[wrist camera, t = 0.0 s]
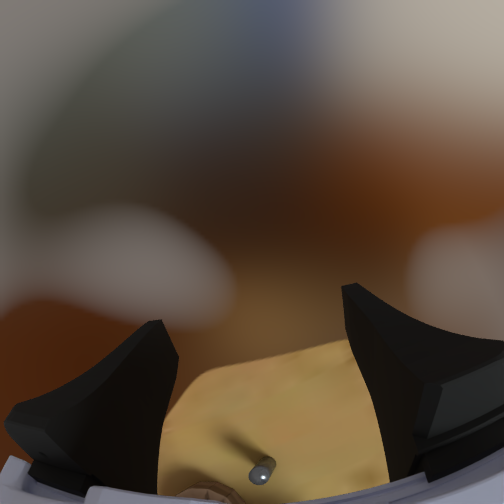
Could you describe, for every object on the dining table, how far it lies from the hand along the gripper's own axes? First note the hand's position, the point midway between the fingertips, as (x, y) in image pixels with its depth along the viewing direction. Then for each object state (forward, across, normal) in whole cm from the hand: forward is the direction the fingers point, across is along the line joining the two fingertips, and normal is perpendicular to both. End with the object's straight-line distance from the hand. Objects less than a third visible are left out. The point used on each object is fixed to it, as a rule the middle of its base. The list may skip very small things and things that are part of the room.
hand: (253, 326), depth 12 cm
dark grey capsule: (+12, +6, +33) cm, 35 cm away
